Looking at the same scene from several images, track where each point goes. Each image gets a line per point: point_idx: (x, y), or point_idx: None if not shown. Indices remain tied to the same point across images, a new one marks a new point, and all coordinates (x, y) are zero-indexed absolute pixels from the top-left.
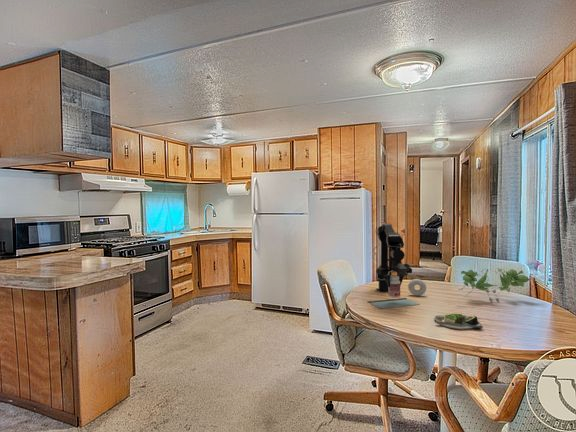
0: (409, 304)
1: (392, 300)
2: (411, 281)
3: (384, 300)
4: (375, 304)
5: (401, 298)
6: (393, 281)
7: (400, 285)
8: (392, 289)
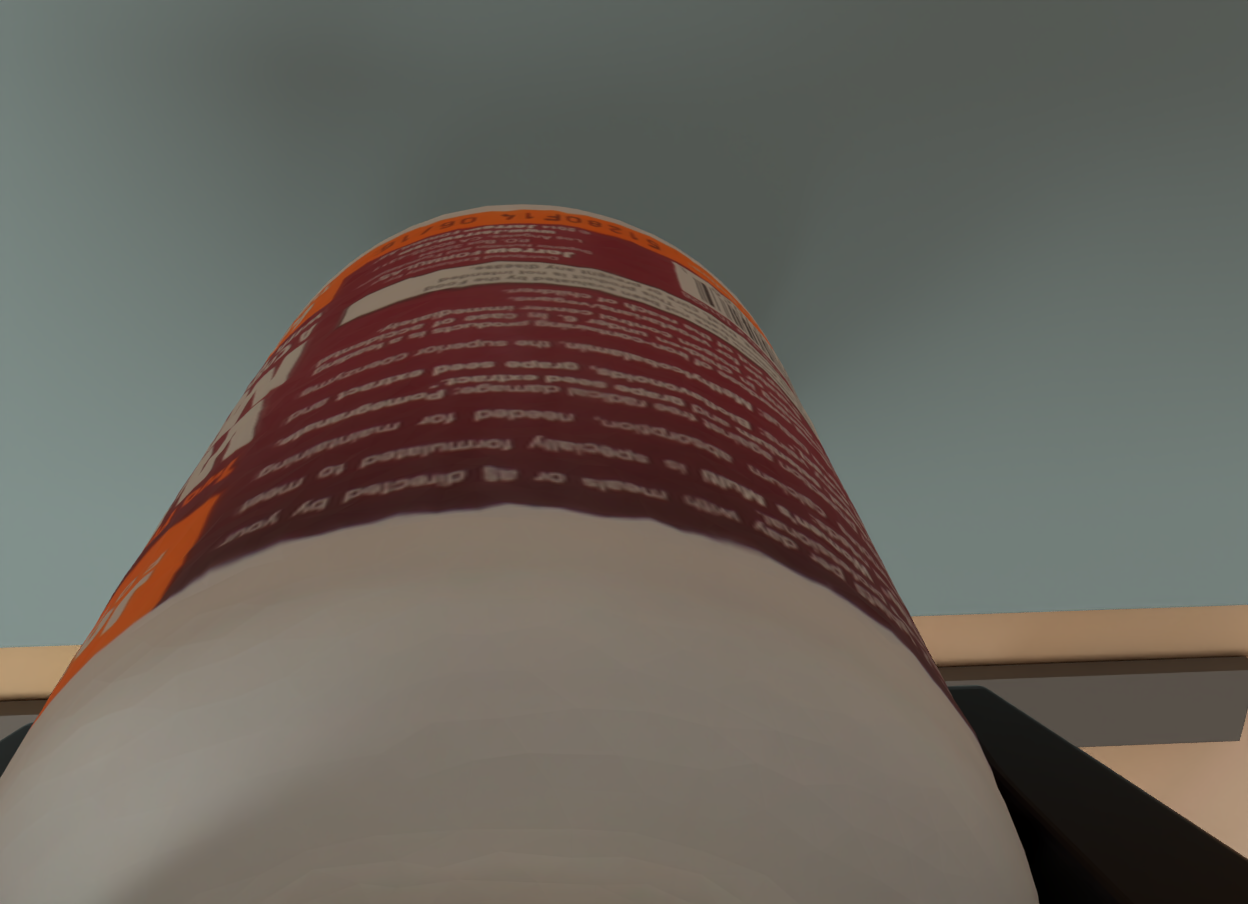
0: (28, 53)
1: None
2: None
3: None
4: (1237, 404)
5: None
6: (860, 848)
7: (15, 739)
8: (817, 450)
